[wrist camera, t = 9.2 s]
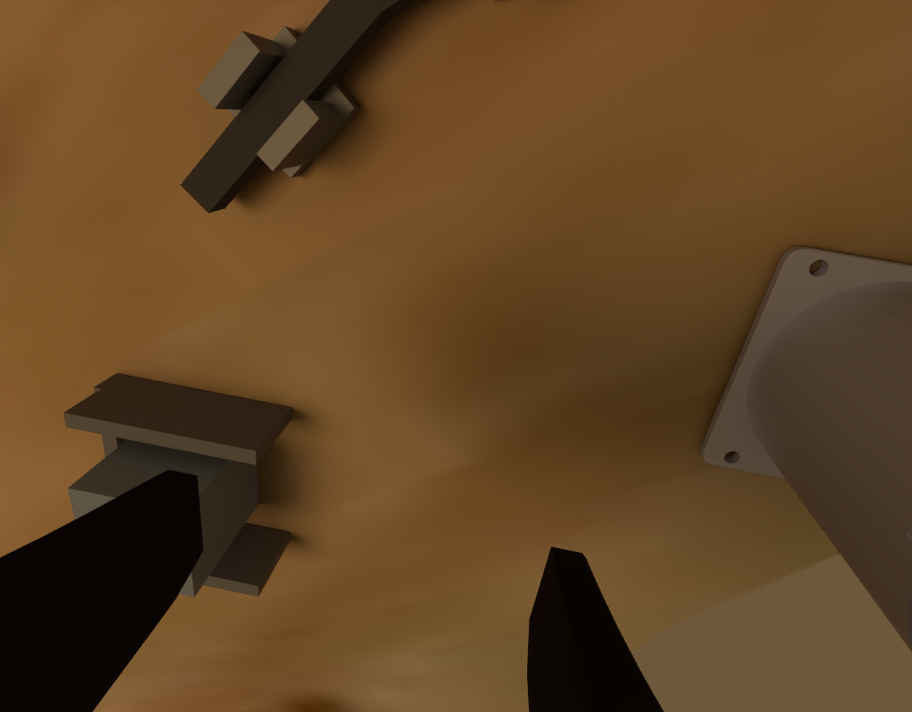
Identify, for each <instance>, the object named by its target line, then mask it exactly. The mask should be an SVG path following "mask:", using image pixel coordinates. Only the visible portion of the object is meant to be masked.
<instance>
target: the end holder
mask: <svg viewBox="0 0 912 712" xmlns="http://www.w3.org/2000/svg"><path fill="white" fill-rule="evenodd" d="M94 392H95V393H94V394H92V395H91V396H89V397H88V398H86V399H84V400H83V401H81V402H80V403H78V404H77V405H75V406H73V407H72V408H70V409H69V410H67V411H65V412H64V418H65V423H66V427H68V428H73V429H78V430H83V431H88V432H93V433H98V434H102V439H103V445H104V451H105V457H107V456H108V455H109V454H111V453H112V452H113V451H114V450H116V449H117V448H118V447H119V446H120V445H122V444H123V443H124V442H125V441H127V440H133V441H138V442H143V443H148V444H153V445H158V446H163V447H168V448H173V449H178V450H183V451H188V452H193V453H198V454H203V455H208V456H213V457H218V458H223V459H228V460H233V461H238V462H243V463H248V464H253V465H256V464H257V463H258V462H259V460H260V459H261V458H262V457H263V455H264V454H265V453H266V451H267V450H268V449H269V448H270V446H271V445H272V444H273V442H274V441H275V440H276V439H277V437H278V436H279V435H280V433H281V432H282V431H283V430H284V428H285V427H286V426H287V424H288V423H289V422H290V421H291V408H290V407H285V406H280V405H275V404H270V403H264V402H259V401H254V400H249V399H244V398H239V397H233V396H228V395H223V394H218V393H213V392H208V391H203V390H197V389H192V388H187V387H182V386H177V385H172V384H167V383H161V382H156V381H151V380H146V379H141V378H136V377H130V376H125V375H120V374H115V375H113V376H111V377H110V378H108V379H107V380H105V381H103V382H102V383H100V384H98V385H97V386H95V387H94ZM288 543H289V532H285V531H280V530H275V529H270V528H265V527H260V526H256V525H251V524H246V523H245V524H244V526H243V527H242V529H241V530H240V531H239V533H238V534H237V536H236V537H235V539H234V540H233V542H232V543H231V545H230V546H229V547H228V549H227V550H226V552H225V553H224V555H223V556H222V558H221V559H220V561H219V562H218V563H217V565H216V566H215V568H214V569H213V571H212V572H211V574H210V575H209V577H208V578H207V579H206V581H205V582H204V584H203V585H206V586H210V587H215V588H220V589H224V590H229V591H234V592H239V593H243V594H248V595H253V596H258V597H259V595H260V593H261V591H262V589H263V588H264V586H265V584H266V582H267V580H268V579H269V577H270V575H271V573H272V572H273V570H274V568H275V566H276V564H277V563H278V561H279V559H280V557H281V555H282V554H283V552H284V550H285V548H286V546H287V545H288Z"/></svg>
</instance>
